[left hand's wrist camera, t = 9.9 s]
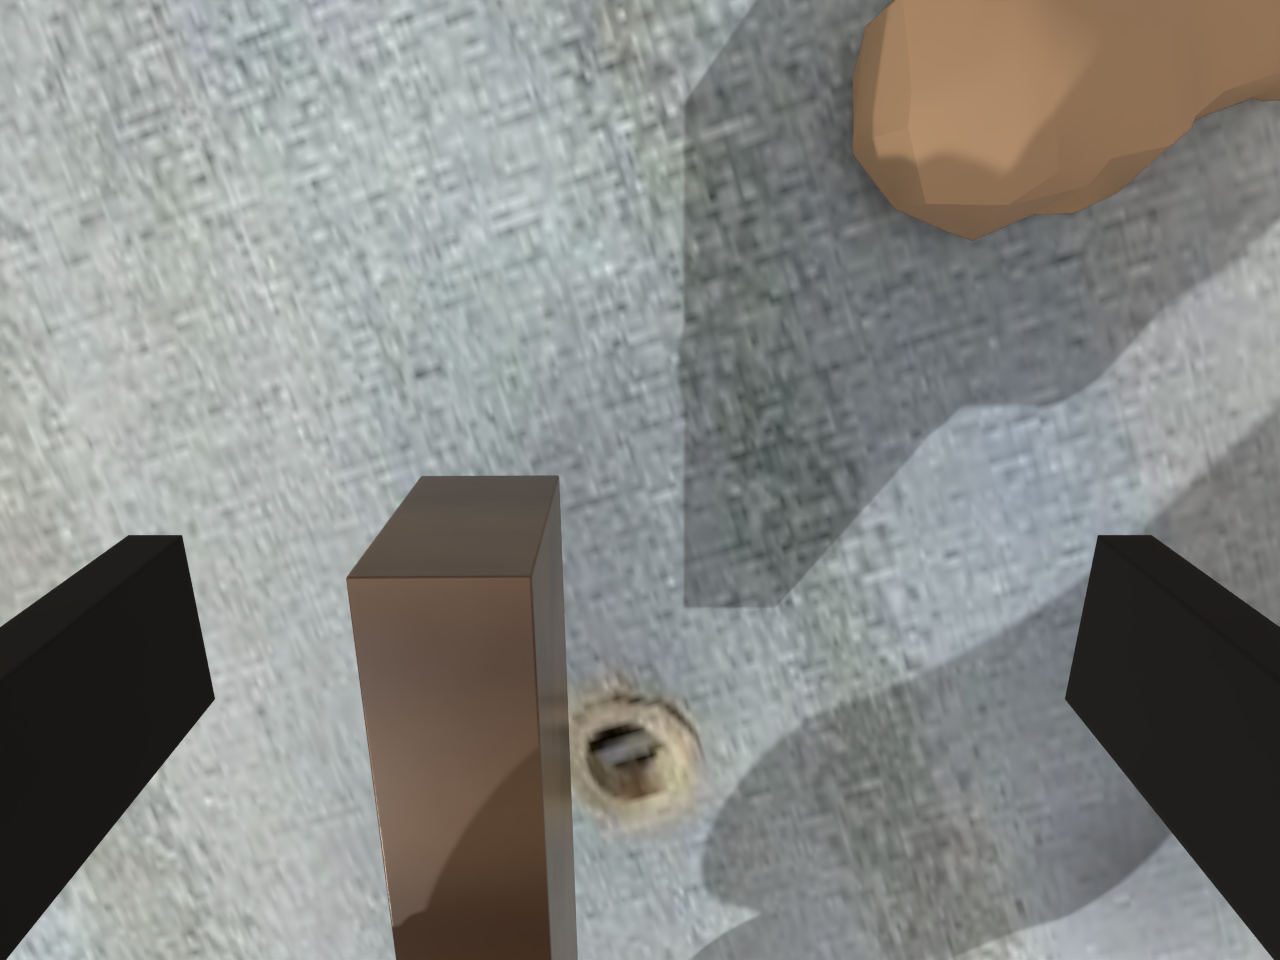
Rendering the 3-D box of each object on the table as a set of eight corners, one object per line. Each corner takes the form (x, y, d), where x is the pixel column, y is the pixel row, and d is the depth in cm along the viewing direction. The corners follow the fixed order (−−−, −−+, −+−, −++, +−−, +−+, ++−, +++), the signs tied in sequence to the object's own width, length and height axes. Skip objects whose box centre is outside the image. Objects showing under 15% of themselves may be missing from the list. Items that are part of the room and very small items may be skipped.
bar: (420, 475, 31) (345, 577, 23) (559, 475, 31) (531, 576, 23) (470, 997, 39) (427, 1204, 31) (579, 996, 39) (564, 1204, 31)
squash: (790, 26, 36) (861, -80, 28) (1227, -91, 37) (1433, -230, 28) (847, 276, 38) (931, 252, 29) (1263, 160, 39) (1467, 103, 30)
